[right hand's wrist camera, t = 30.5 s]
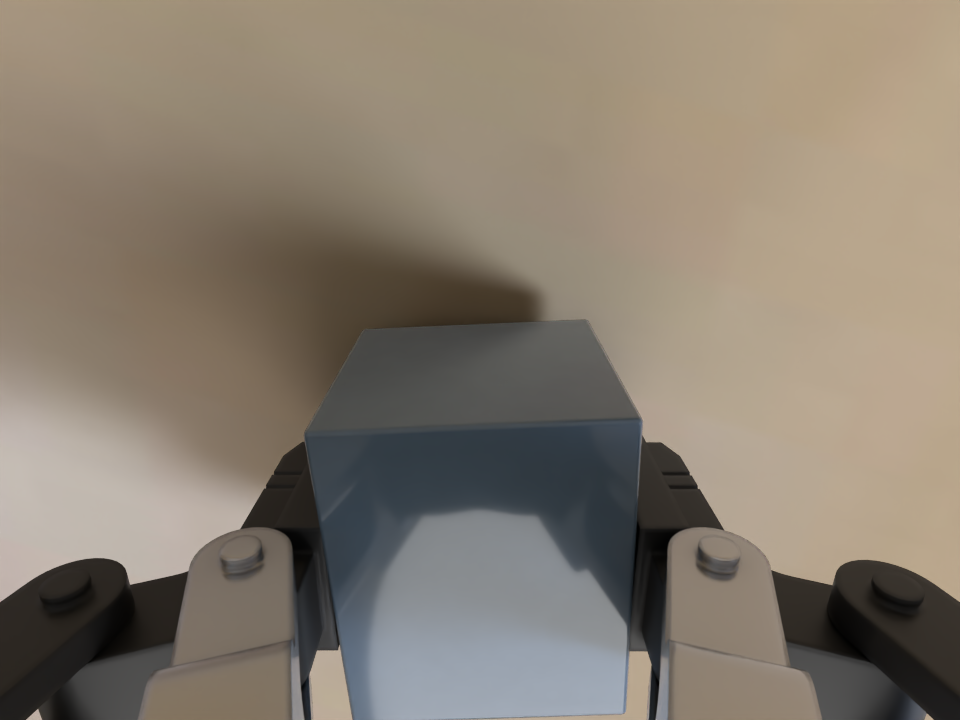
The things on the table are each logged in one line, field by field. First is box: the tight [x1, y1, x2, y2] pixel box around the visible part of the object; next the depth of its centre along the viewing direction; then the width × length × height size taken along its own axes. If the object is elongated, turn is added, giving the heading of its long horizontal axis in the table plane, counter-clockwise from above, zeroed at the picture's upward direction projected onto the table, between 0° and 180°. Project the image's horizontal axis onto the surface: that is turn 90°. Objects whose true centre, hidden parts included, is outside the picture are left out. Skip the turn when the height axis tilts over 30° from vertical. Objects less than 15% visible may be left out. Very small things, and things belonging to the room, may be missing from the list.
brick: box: [304, 320, 643, 720], centre depth 10 cm, size 4×5×4 cm
